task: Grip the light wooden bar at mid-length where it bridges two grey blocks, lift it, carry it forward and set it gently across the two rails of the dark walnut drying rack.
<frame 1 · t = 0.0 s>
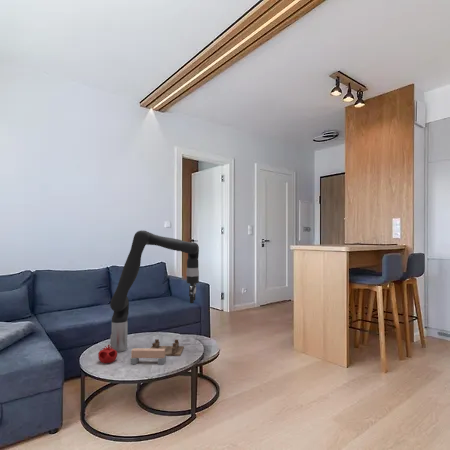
hand: (192, 301, 206), 29 cm above the table, fingers open, 8 cm apart
rack: (165, 351, 203), on the table
pomegranate: (107, 361, 188), on the table
light wooden bar: (148, 356, 186), point 3 cm above the table, touching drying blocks
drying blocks: (148, 362, 186), on the table
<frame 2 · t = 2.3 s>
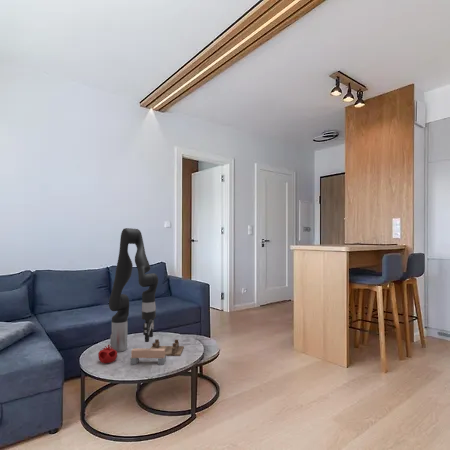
hand: (148, 339, 187), 13 cm above the table, fingers open, 8 cm apart
nothing on the table moved.
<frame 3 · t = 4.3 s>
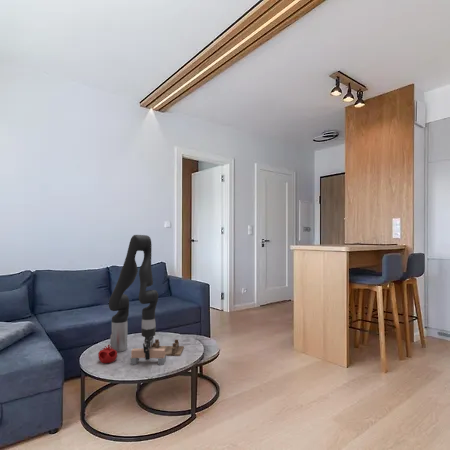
hand: (148, 358, 186), 2 cm above the table, fingers closed on light wooden bar, 3 cm apart
light wooden bar: (148, 356, 186), point 3 cm above the table, touching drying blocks, gripper
everything else where it was.
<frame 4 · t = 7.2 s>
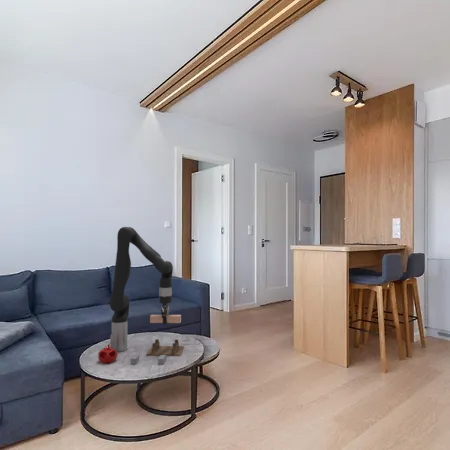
hand: (165, 323, 203), 17 cm above the table, fingers closed on light wooden bar, 3 cm apart
light wooden bar: (165, 322, 204), point 18 cm above the table, touching gripper
everything else where it was.
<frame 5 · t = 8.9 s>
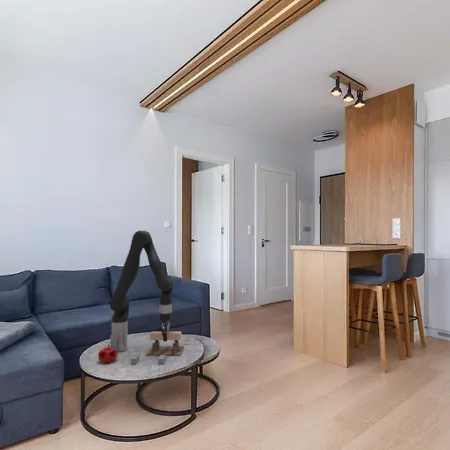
hand: (165, 340, 203), 7 cm above the table, fingers closed on light wooden bar, 3 cm apart
light wooden bar: (165, 339, 203), point 7 cm above the table, touching gripper
everything else where it was.
when the fingers open (5 cm above the table, at t = 10.1 s): light wooden bar drops 1 cm, resting on rack.
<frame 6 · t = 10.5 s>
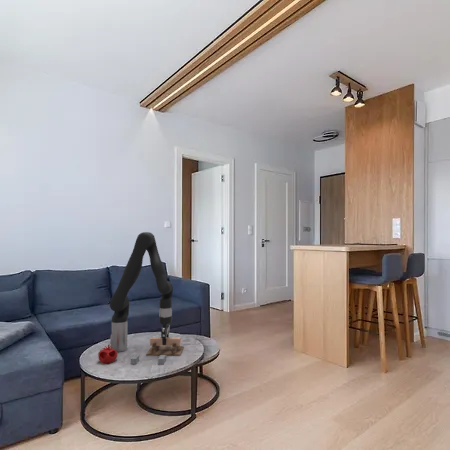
hand: (165, 342, 203), 5 cm above the table, fingers open, 7 cm apart
light wooden bar: (165, 344, 203), point 4 cm above the table, touching rack
everything else where it was.
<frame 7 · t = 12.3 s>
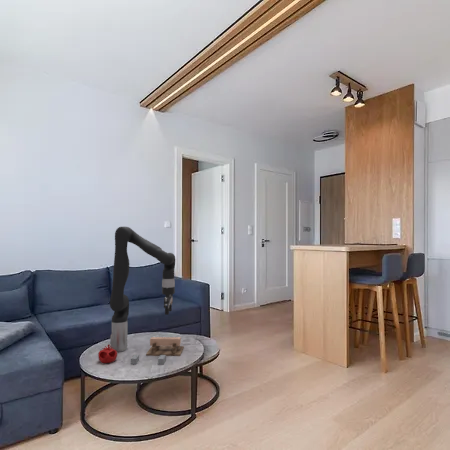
hand: (168, 312, 205), 23 cm above the table, fingers open, 8 cm apart
nothing on the table moved.
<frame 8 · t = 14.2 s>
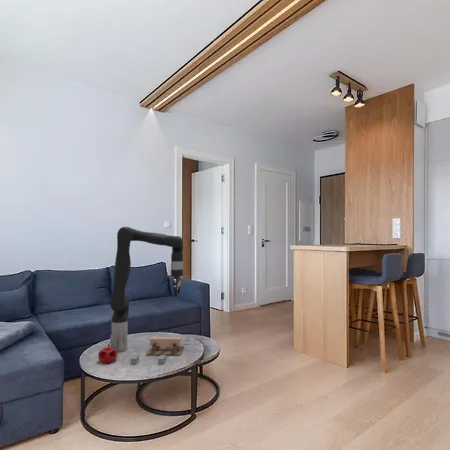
hand: (176, 294, 209), 33 cm above the table, fingers open, 8 cm apart
nothing on the table moved.
at the end: light wooden bar 0.1 cm off-centre on the rack, point 4.0 cm above the rack's base; light wooden bar tilted 0°; the gripper is holding nothing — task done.
